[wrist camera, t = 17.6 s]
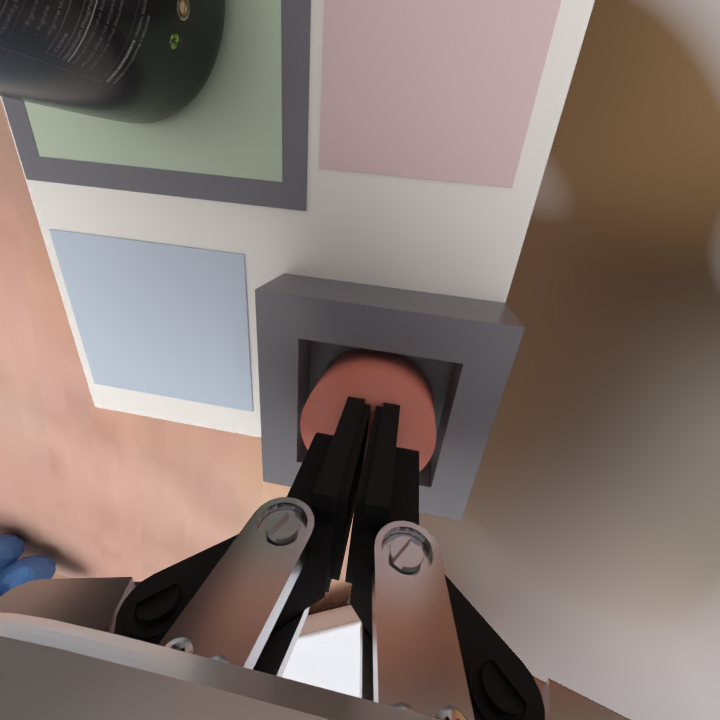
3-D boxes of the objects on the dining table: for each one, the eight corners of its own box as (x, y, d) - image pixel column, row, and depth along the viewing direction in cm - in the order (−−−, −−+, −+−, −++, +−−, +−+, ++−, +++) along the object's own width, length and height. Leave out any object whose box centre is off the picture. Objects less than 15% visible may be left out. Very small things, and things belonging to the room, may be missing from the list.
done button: (319, 338, 12) (301, 364, 10) (445, 358, 12) (449, 387, 10) (314, 437, 14) (299, 473, 12) (422, 457, 13) (422, 497, 12)
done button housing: (284, 273, 13) (254, 289, 10) (505, 302, 12) (525, 327, 10) (284, 441, 16) (263, 481, 14) (455, 473, 15) (460, 520, 13)
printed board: (-52, -258, 9) (-140, -343, 8) (657, -282, 7) (714, -398, 6) (118, 391, 18) (92, 408, 17) (452, 451, 17) (455, 475, 15)
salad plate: (362, 735, 34) (356, 789, 30) (212, 612, 28) (187, 663, 25) (586, 715, 26) (608, 785, 23) (440, 540, 20) (443, 601, 17)
